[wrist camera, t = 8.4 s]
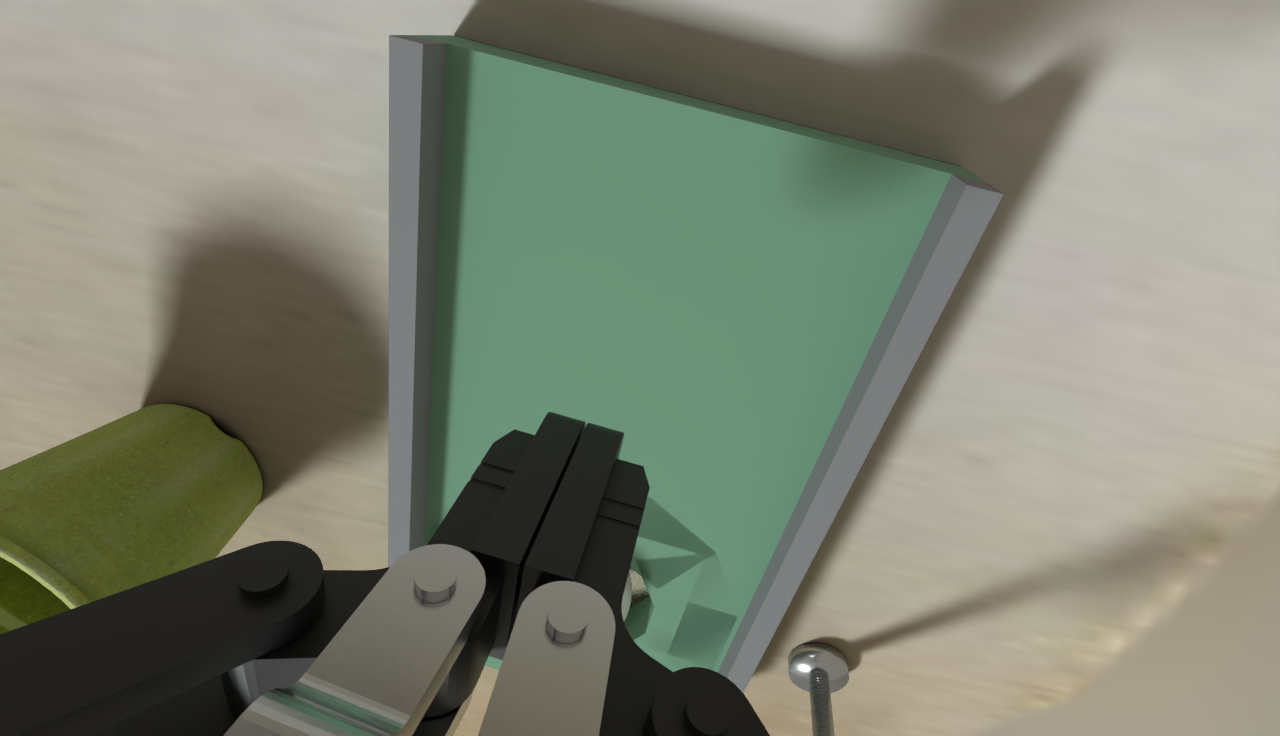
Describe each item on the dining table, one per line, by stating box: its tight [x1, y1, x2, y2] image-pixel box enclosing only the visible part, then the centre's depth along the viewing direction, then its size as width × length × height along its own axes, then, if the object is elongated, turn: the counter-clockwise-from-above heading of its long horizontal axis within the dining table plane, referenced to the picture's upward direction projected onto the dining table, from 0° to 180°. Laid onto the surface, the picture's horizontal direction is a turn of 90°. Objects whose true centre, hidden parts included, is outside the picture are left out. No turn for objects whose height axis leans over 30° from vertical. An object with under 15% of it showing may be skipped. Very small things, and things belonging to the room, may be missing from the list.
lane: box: [388, 35, 1004, 693], centre depth 21 cm, size 24×14×3 cm, turn 168°
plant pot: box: [0, 404, 263, 634], centre depth 23 cm, size 9×9×9 cm
